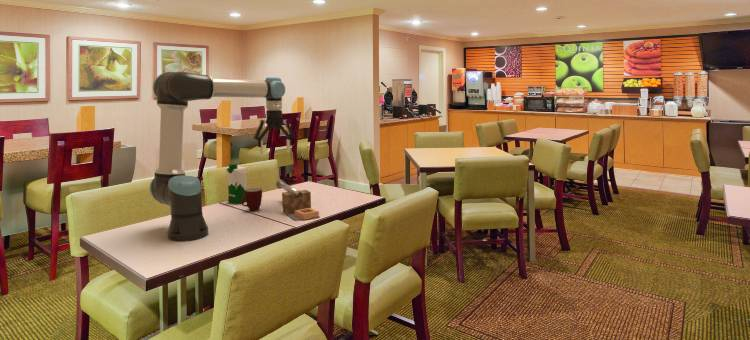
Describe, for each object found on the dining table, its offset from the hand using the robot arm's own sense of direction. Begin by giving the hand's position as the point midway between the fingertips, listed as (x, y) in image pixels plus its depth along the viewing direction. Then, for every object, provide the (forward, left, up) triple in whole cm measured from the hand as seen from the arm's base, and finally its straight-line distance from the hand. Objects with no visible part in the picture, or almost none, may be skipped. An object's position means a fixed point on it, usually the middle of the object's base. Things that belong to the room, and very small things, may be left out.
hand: (275, 153), depth 233 cm
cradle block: (+4, -17, -26) cm, 32 cm away
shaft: (+4, -6, -20) cm, 21 cm away
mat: (+4, -26, -26) cm, 37 cm away
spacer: (+5, -24, -25) cm, 35 cm away
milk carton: (-16, +16, -26) cm, 34 cm away
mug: (-14, -4, -26) cm, 30 cm away
